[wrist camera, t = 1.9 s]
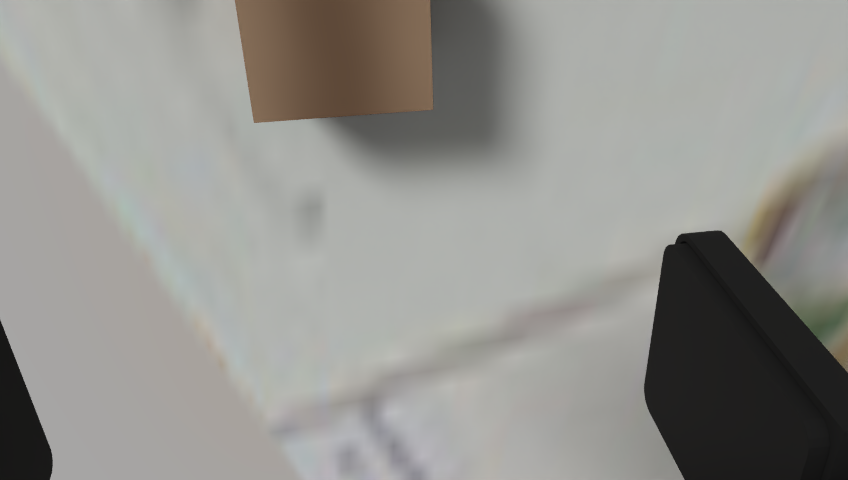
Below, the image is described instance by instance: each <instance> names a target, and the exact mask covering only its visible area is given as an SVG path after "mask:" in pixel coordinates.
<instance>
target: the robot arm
mask: <svg viewBox="0 0 848 480" xmlns="http://www.w3.org/2000/svg"><path fill="white" fill-rule="evenodd" d="M644 393H645V400H646V404H647V407H648V410H649V412H650V414H651V416H652V418H653V420H654V422H655V423H656V425H657V427H658V429H659V431H660V433H661V435H662V437H663V439H664V441H665V443H666V445H667V447H668V448H669V450H670V452H671V454H672V456H673V458H674V460H675V462H676V464H677V466H678V468H679V470H680V472H681V473H682V475H683V477H684V479H685V480H848V373H847V372H846V370H845V369H844V368H843V367H842V366H841V365H840V364H839V362H838V361H837V360H836V359H835V358H834V357H833V356H832V354H831V353H830V352H829V351H828V350H827V349H826V348H825V347H824V345H823V344H822V343H821V342H820V341H819V340H818V339H817V337H816V336H815V335H814V334H813V333H812V332H811V331H810V330H809V328H808V327H807V326H806V325H805V324H804V323H803V322H802V320H801V319H800V318H799V317H798V316H797V315H796V314H795V312H794V311H793V310H792V309H791V308H790V307H789V306H788V305H787V303H786V302H785V301H784V300H783V299H782V298H781V297H780V295H779V294H778V293H777V292H776V291H775V290H774V289H773V288H772V286H771V285H770V284H769V283H768V282H767V281H766V280H765V278H764V277H763V276H762V275H761V274H760V273H759V272H758V271H757V269H756V268H755V267H754V266H753V265H752V264H751V263H750V261H749V260H748V259H747V258H746V257H745V256H744V255H743V253H742V252H741V251H740V250H739V249H738V248H737V247H736V246H735V244H734V243H733V242H732V241H731V240H730V239H729V238H728V236H727V235H726V234H725V233H723V232H722V231H706V232H695V233H685V234H681V235H679V236H678V238H677V240H676V242H675V244H673V245H668V246H667V247H666V249H665V251H664V255H663V262H662V268H661V275H660V282H659V289H658V296H657V302H656V309H655V316H654V323H653V330H652V336H651V343H650V350H649V357H648V364H647V370H646V377H645V384H644ZM52 461H53V460H52V453H51V449H50V446H49V444H48V441H47V439H46V436H45V433H44V431H43V428H42V426H41V423H40V421H39V418H38V415H37V413H36V411H35V408H34V405H33V403H32V400H31V398H30V395H29V392H28V390H27V387H26V385H25V382H24V380H23V377H22V375H21V372H20V369H19V367H18V364H17V362H16V359H15V357H14V354H13V352H12V349H11V346H10V344H9V341H8V339H7V336H6V334H5V331H4V328H3V326H2V324H1V321H0V480H50V477H51V474H52V466H53V465H52Z"/></svg>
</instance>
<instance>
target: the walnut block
mask: <svg viewBox="0 0 848 480" xmlns="http://www.w3.org/2000/svg"><path fill="white" fill-rule="evenodd" d="M235 4H236V10H237V17H238V23H239V29H240V36H241V42H242V49H243V55H244V62H245V68H246V74H247V81H248V87H249V94H250V100H251V107H252V113H253V120H254V123H259V122H272V121H286V120H299V119H313V118H327V117H340V116H354V115H367V114H381V113H395V112H408V111H422V110H433V84H432V48H431V12H430V0H235Z"/></svg>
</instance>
